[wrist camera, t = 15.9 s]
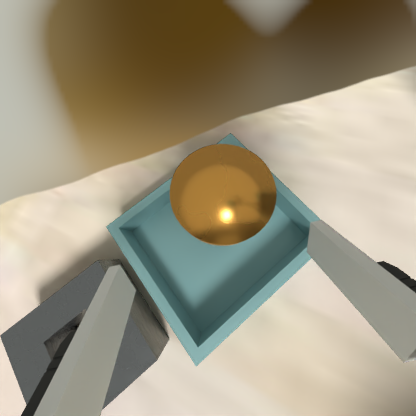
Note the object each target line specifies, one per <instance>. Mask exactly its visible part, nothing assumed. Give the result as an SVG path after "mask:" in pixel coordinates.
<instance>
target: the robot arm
mask: <svg viewBox="0 0 416 416" xmlns="http://www.w3.org/2000/svg"><path fill="white" fill-rule="evenodd" d="M307 253H308V254H309V255H310V256H311V258H312V259H313V260H314V261H315V262H316V263H317V264H318V266H319V267H320V268H321V269H322V270H323V271H324V272H325V273H326V275H327V276H328V277H329V278H330V279H331V280H332V281H333V283H334V284H335V285H336V286H337V287H338V288H339V289H340V291H341V292H342V293H343V294H344V295H345V296H346V297H347V299H348V300H349V301H350V302H351V303H352V304H353V305H354V307H355V308H356V309H357V310H358V311H359V312H360V313H361V315H362V316H363V317H364V318H365V319H366V320H367V321H368V323H369V324H370V325H371V326H372V327H373V328H374V329H375V331H376V332H377V333H378V334H379V335H380V336H381V337H382V339H383V340H384V341H385V342H386V343H387V344H388V345H389V346H390V348H391V349H392V350H393V351H394V352H395V353H396V354H397V356H398V357H399V358H400V359H401V360H402V361H403V362H409V361H413V360H416V281H415V280H414V279H411V278H410V276H408V275H407V274H406V273H404V272H403V271H401V270H400V269H399V268H397V267H395V266H393V265H391V264H389V263H386V262H384V261H381V262H377V263H376V262H375V261H374V260H373V259H371V258H370V257H369V256H367V255H366V254H365V253H364V252H362V251H361V250H360V249H358V248H357V247H356V246H355V245H353V244H352V243H351V242H349V241H348V240H347V239H346V238H344V237H343V236H342V235H340V234H339V233H338V232H337V231H335V230H334V229H333V228H331V227H330V226H329V225H328V224H326V223H325V222H324V221H322V220H318V221H314V222H310V229H309V237H308V245H307ZM135 292H136V289H135V288H134V286H133V285H132V283H131V281H130V280H129V278H128V277H127V275H126V273H125V272H124V270H123V268H122V267H121V265H116V266H112V267H109V268H108V270H107V272H106V274H105V276H104V278H103V280H102V282H101V284H100V286H99V288H98V290H97V292H96V294H95V296H94V298H93V300H92V301H91V303H90V305H89V307H88V309H87V311H86V313H85V315H84V317H83V319H82V321H81V323H80V325H79V327H78V329H77V331H72V332H70V333H69V334H68V335H67V337H66V338H65V339H64V340H63V342H62V343H61V344H60V346H59V347H58V349H57V351H56V353H55V355H54V356H53V360H52V361H51V362H50V364H49V366H48V367H47V369H46V370H47V371H46V372H45V373H44V375H43V376H42V378H41V380H40V382H39V384H38V386H37V387H36V389H35V391H34V393H33V395H32V397H31V398H30V400H29V402H28V404H27V406H26V407H25V409H24V411H23V413H22V415H21V416H100V415H101V411H102V408H103V404H104V401H105V397H106V394H107V390H108V387H109V383H110V380H111V376H112V373H113V369H114V366H115V362H116V359H117V355H118V352H119V348H120V345H121V341H122V338H123V334H124V331H125V327H126V324H127V320H128V317H129V313H130V310H131V306H132V303H133V299H134V296H135Z"/></svg>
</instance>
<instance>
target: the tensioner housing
mask: <svg viewBox="0 0 416 416" xmlns="http://www.w3.org/2000/svg"><path fill="white" fill-rule="evenodd" d="M116 265H121V267H122V268H123V270H124V272H125V273H126V275H127V277H128V278H129V280H130V281H131V283H132V285H133V286H134V288H135V289H136V292H135V296H134V299H133V303H132V306H131V310H130V313H129V317H128V320H127V324H126V327H125V331H124V334H123V338H122V341H121V345H120V348H119V352H118V355H117V359H116V362H115V366H114V369H113V373H112V376H111V380H110V383H109V387H108V390H107V394H106V397H105V401H104V404H103V408H102V409H104V408H105V407H106V406H107V405H108V404H109V403H110V402H111V401H112V400H114V399H115V398H116V397H117V396H118V395H119V394H120V393H121V392H122V391H124V390H125V389H126V388H127V387H128V386H129V385H130V384H131V383H132V382H133V381H135V380H136V379H137V378H138V377H139V376H140V375H141V374H142V373H143V372H145V371H146V370H147V369H148V368H149V367H150V366H151V365H152V364H153V363H155V362H156V361H157V359H158V358H159V356H160V354H161V352H162V351H163V349H164V347H165V346H166V344H167V342H168V340H169V338H168V336H167V335H166V333H165V332H164V330H163V329H162V327H161V325H160V324H159V322H158V321H157V319H156V317H155V316H154V314H153V313H152V311H151V310H150V308H149V306H148V305H147V303H146V302H145V300H144V298H143V297H142V295H141V294H140V292H139V291H138V289H137V287H136V286H135V284H134V283H133V281H132V279H131V278H130V276H129V275H128V273H127V271H126V270H125V268H124V267H123V265H122V264H121V262H120V260H119V259H115V260H97V261H96V262H95V263H94V264H92V265H91V266H90V267H88V268H87V269H86V270H84V271H83V272H82V273H81V274H79V275H78V276H77V277H75V278H74V279H73V280H72V281H70V282H69V283H68V284H66V285H65V286H64V287H62V288H61V289H60V290H59V291H57V292H56V293H55V294H53V295H52V296H51V297H50V298H48V299H47V300H46V301H44V302H43V303H42V304H40V305H39V306H38V307H37V308H35V309H34V310H33V311H31V312H30V313H29V314H28V315H26V316H25V317H24V318H22V319H21V320H20V321H19V322H17V323H16V324H15V325H13V326H12V327H11V328H9V329H8V330H7V331H6V332H4V333H3V334H2V335H0V337H1V339H2V342H3V344H4V347H5V350H6V352H7V355H8V357H9V360H10V363H11V365H12V368H13V371H14V373H15V376H16V378H17V381H18V384H19V386H20V389H21V391H22V394H23V397H24V399H25V402H26V405H27V404H28V402H29V400H30V398H31V397H32V395H33V393H34V391H35V389H36V387H37V386H38V384H39V382H40V380H41V378H42V376H43V375H44V373H45V372H46V371H47V370H46V369H47V367H48V366H49V364H50V362H51V361H52V360H53V356H54V355H55V353H56V351H57V349H58V347H59V346H60V344H61V343H62V342H63V340H64V339H65V338H66V337H67V335H68V334H69V333H70V332H72V331H77V329H78V327H77V325H78V324H79V323H81V321H82V319H83V317H84V315H85V313H86V311H87V309H88V307H89V305H90V303H91V301H92V300H93V298H94V296H95V294H96V292H97V290H98V288H99V286H100V284H101V282H102V280H103V278H104V276H105V274H106V272H107V270H108V268H109V267H112V266H116Z"/></svg>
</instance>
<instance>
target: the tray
mask: <svg viewBox="0 0 416 416" xmlns="http://www.w3.org/2000/svg"><path fill="white" fill-rule="evenodd" d="M217 144H230V145H235V146H239V147H242V148H245V149H247V148H246V147H245V146H244V145H243V144H241V143H240V142H239V141H238V140H237V139H236V138H235V137H234V136H233V135H232V134H231V133H230V134H229V135H228V136H226V137H225V138H224V139H222V140H221V141H220V142H218V143H217ZM247 150H248V149H247ZM270 172H271V171H270ZM271 173H272V172H271ZM272 175H273V178H274V181H275V185H276V193H277V197H276V205H275V209H274V211H273V214H272V216H271V218H270V220H269V221H268V223H267V224H266V225H265V227H264V228H263V229H262V230H261V231H260V232H258V233H257V234H256V235H254V236H253V237H251V238H249V239H247V240H245V241H243V242H240V243H238V244H234V245H229V246H218V247H216V246H212V245H210V244H207V243H204V242H202V241H200V240H198V239H197V238H195V237H193V236H192V235H191V234H190V233H189V232H187V231H186V230H185V229H184V228H183V227H182V226H181V224H180V223H179V222H178V220H177V219H176V217H175V215H174V213H173V210H172V207H171V203H170V185H171V181H172V178H173V177H172V178H170V179H169V180H168V181H166V182H165V183H164V184H162V185H161V186H160V187H158V188H157V189H156V190H154V191H153V192H152V193H150V194H149V195H148V196H146V197H145V198H144V199H142V200H141V201H140V202H138V203H137V204H136V205H134V206H133V207H132V208H130V209H129V210H128V211H126V212H125V213H124V214H122V215H121V216H120V217H118V218H117V219H116V220H114V221H113V222H112V223H110V224H109V225H108V226H106V227H107V229H108V230H109V232H110V234H111V235H112V237H113V238H114V240H115V241H116V243H117V244H118V246H119V247H120V249H121V251H122V252H123V254H124V255H125V257H126V258H127V260H128V261H129V263H130V265H131V266H132V268H133V269H134V271H135V272H136V274H137V275H138V277H139V278H140V280H141V282H142V283H143V285H144V286H145V288H146V289H147V291H148V292H149V294H150V296H151V297H152V299H153V300H154V302H155V303H156V305H157V306H158V308H159V309H160V311H161V313H162V314H163V316H164V317H165V319H166V320H167V322H168V323H169V325H170V327H171V328H172V330H173V331H174V333H175V334H176V336H177V337H178V339H179V340H180V342H181V344H182V345H183V347H184V348H185V350H186V351H187V353H188V354H189V356H190V358H191V359H192V361H193V362H194V364H195V365H196V366H197V365H198V364H199V363H200V362H201V361H202V360H204V359H205V358H206V357H207V356H208V355H209V354H210V353H211V352H212V351H213V350H214V349H215V348H216V347H217V346H218V345H219V344H221V343H222V342H223V341H224V340H225V339H226V338H227V337H228V336H229V335H230V334H231V333H232V332H233V331H234V330H235V329H237V328H238V327H239V326H240V325H241V324H242V323H243V322H244V321H245V320H246V319H247V318H248V317H249V316H250V315H251V314H252V313H254V312H255V311H256V310H257V309H258V308H259V307H260V306H261V305H262V304H263V303H264V302H265V301H266V300H267V299H268V298H269V297H271V296H272V295H273V294H274V293H275V292H276V291H277V290H278V289H279V288H280V287H281V286H282V285H283V284H284V283H285V282H286V281H288V280H289V279H290V278H291V277H292V276H293V275H294V274H295V273H296V272H297V271H298V270H299V269H300V268H301V267H302V266H304V265H305V264H306V263H307V262H308V261H309V260H310V259H311V256H310V255H309V254H308V253H307V245H308V237H309V229H310V222H314V221H318V220H320V219H319V218H318V217H317V216H316V215H315V214H314V213H313V212H312V211H311V210H310V209H309V208H308V207H307V206H306V205H305V204H304V203H303V202H302V201H301V200H300V199H299V198H298V197H297V196H296V195H295V194H293V193H292V192H291V191H290V190H289V189H288V188H287V187H286V186H285V185H284V184H283V183H282V182H281V181H280V180H279V179H278V178H277V177H276V176H275V175H274V174H273V173H272Z"/></svg>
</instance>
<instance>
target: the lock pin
mask: <svg viewBox="0 0 416 416" xmlns="http://www.w3.org/2000/svg"><path fill="white" fill-rule="evenodd" d="M276 197H277V193H276V185H275V181H274V178H273V175H272V173H271V172H270V170H269V168H268V167H267V165H266V164H265V163H264V162H263V161H262V160H261V159H260V158H259V157H258V156H257V155H255V154H254V153H252V152H251V151H249V150H247V149H245V148H242V147H239V146H235V145H230V144H215V145H210V146H206V147H203V148H201V149H198V150H196V151H195V152H193V153H192V154H190V155H189V156H188V157H186V158H185V159H184V160H183V161H182V162H181V164H180V165H179V166H178V168H177V169H176V171H175V173H174V175H173V178H172V181H171V185H170V203H171V207H172V210H173V213H174V215H175V217H176V219H177V220H178V222H179V223H180V224H181V226H182V227H183V228H184V229H185V230H186V231H187V232H189V233H190V234H191V235H192V236H193V237H195V238H197V239H198V240H200V241H202V242H204V243H207V244H210V245H212V246H216V247H218V246H229V245H234V244H238V243H240V242H243V241H245V240H247V239H249V238H251V237H253V236H254V235H256V234H257V233H258V232H260V231H261V230H262V229H263V228H264V227H265V225H266V224H267V223H268V221H269V220H270V218H271V216H272V214H273V211H274V209H275V205H276Z"/></svg>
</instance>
